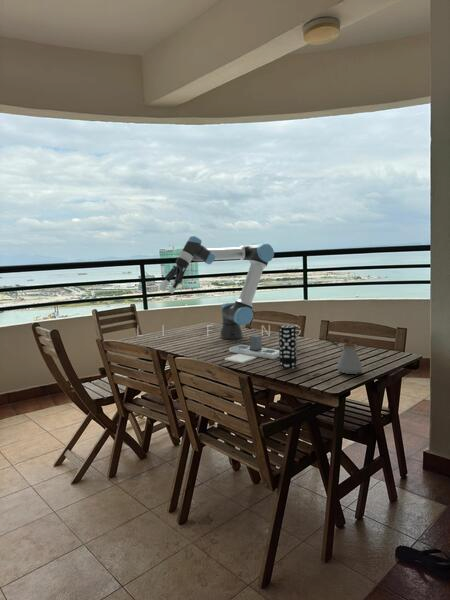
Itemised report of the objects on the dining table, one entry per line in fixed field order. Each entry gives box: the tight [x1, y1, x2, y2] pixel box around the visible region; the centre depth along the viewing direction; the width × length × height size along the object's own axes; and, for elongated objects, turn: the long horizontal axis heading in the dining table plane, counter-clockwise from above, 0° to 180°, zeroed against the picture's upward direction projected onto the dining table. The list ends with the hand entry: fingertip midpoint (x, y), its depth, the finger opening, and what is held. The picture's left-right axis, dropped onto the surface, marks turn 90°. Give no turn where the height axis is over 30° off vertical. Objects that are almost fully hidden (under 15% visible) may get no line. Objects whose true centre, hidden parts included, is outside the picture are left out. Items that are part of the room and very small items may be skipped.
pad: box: [224, 353, 257, 364], centre depth 222 cm, size 12×12×1 cm
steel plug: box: [249, 334, 263, 351], centre depth 232 cm, size 5×5×10 cm
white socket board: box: [228, 343, 279, 360], centre depth 232 cm, size 30×10×2 cm, turn 50°
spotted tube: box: [278, 324, 298, 369], centre depth 204 cm, size 8×8×20 cm
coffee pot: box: [323, 335, 364, 374], centre depth 195 cm, size 21×12×15 cm, turn 33°
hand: (166, 291), depth 243 cm, fingers open, 13 cm apart
